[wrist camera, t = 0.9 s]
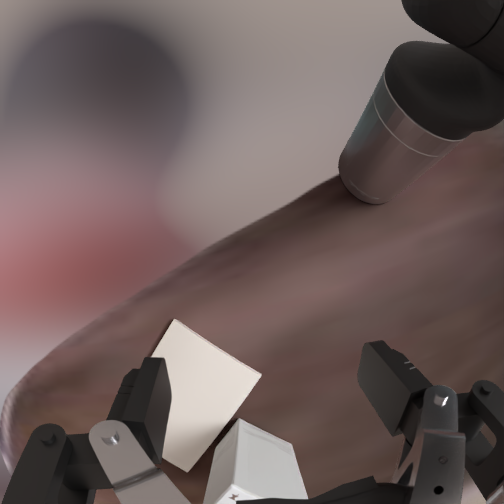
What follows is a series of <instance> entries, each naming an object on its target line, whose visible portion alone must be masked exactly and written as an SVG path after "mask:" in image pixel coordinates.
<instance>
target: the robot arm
mask: <svg viewBox="0 0 504 504" xmlns="http://www.w3.org/2000/svg"><path fill="white" fill-rule="evenodd" d="M402 4H403V7H404V10H405V11H406V13H407V14H408V16H409V17H410V18H411V19H412V21H414V22H415V23H416V24H417V25H419V26H421V27H422V28H424V29H425V30H427V31H429V32H430V33H432V34H434V35H435V36H437V37H439V38H441V39H443V40H445V41H446V42H448V43H450V44H440V43H432V42H423V41H410V42H406V43H403V44H401V45H400V46H398V47H397V48H396V49H395V50H394V52H393V54H392V55H391V57H390V59H389V61H388V63H387V65H386V67H385V69H384V71H383V73H382V76H381V77H380V80H379V82H378V84H377V85H376V88H375V90H374V92H373V94H372V96H371V98H370V100H369V102H368V104H367V106H366V108H365V110H364V112H363V113H362V116H361V117H360V119H359V121H358V123H357V125H356V127H355V129H354V131H353V133H352V135H351V137H350V138H349V140H348V142H347V144H346V146H345V148H344V150H343V152H342V154H341V155H340V159H339V166H338V168H339V174H340V177H341V179H342V182H343V183H344V185H345V187H346V188H347V189H348V190H349V191H350V192H351V194H353V195H354V196H355V197H357V198H358V199H360V200H362V201H364V202H367V203H370V204H382V203H386V202H388V201H390V200H391V199H393V198H394V197H395V196H397V195H398V194H399V193H400V192H402V191H403V190H404V189H406V188H407V187H408V186H409V185H411V184H412V183H413V182H414V181H416V180H417V179H418V178H419V177H421V176H422V175H423V174H424V173H425V172H427V171H428V170H429V169H430V168H431V167H433V166H434V165H435V164H436V163H437V162H439V161H440V160H441V159H442V158H443V157H445V156H446V155H447V154H448V153H449V152H450V151H451V150H453V149H454V148H455V147H456V146H457V145H458V144H459V143H461V142H462V141H463V140H464V139H465V138H466V137H467V136H469V135H470V134H471V133H472V132H475V131H482V130H486V129H489V128H492V127H493V126H495V125H497V124H498V123H499V122H501V121H502V120H503V119H504V0H402ZM358 382H359V385H360V387H361V389H362V390H363V392H364V393H365V395H366V396H367V398H368V399H369V401H370V402H371V404H372V406H373V407H374V409H375V410H376V412H377V413H378V415H379V417H380V418H381V420H382V421H383V423H384V424H385V426H386V428H387V429H388V431H389V432H390V434H391V435H392V437H393V436H396V435H399V434H402V433H403V434H404V435H405V437H404V439H403V441H402V445H401V450H400V454H399V457H398V461H397V465H396V468H395V472H394V475H393V478H392V480H391V482H390V483H376V481H375V479H374V477H373V476H370V477H367V478H364V479H360V480H357V481H354V482H350V483H346V484H343V485H341V486H339V487H336V488H334V489H332V490H330V491H328V492H326V493H324V494H321V495H319V496H317V497H315V498H312V499H285V498H264V499H253V500H237V501H236V504H461V498H462V490H463V481H464V468H466V470H467V471H468V473H469V474H470V476H471V478H472V479H473V481H474V482H475V484H476V485H477V487H478V489H479V490H480V492H481V493H482V495H483V497H484V498H485V500H486V504H504V392H503V391H502V390H501V389H500V388H499V387H498V386H497V385H496V384H494V383H492V382H490V381H487V380H480V381H477V382H475V383H474V385H473V387H472V389H471V391H470V392H468V393H461V394H456V393H455V392H454V391H453V390H452V389H451V388H449V387H447V386H443V385H434V386H433V385H432V384H431V383H430V382H429V381H428V380H427V379H426V378H425V377H424V375H423V374H422V373H421V372H420V371H419V370H418V369H417V368H415V366H414V365H413V364H412V363H410V361H409V360H408V359H407V358H406V357H405V356H404V355H403V354H402V353H400V352H398V351H396V350H394V349H391V348H390V347H389V346H388V345H387V344H386V343H385V342H384V341H382V340H380V341H374V342H368V343H365V344H364V346H363V350H362V355H361V360H360V364H359V369H358ZM171 401H172V391H171V385H170V380H169V376H168V371H167V366H166V361H165V358H164V357H145V358H144V360H143V363H142V366H141V368H140V369H132V370H131V371H130V372H129V373H128V374H127V375H125V377H124V379H123V381H122V384H121V387H120V388H119V391H118V394H117V395H116V398H115V400H114V402H113V405H112V407H111V410H110V412H109V415H108V417H107V420H106V421H102V422H99V423H98V424H96V425H95V426H93V428H92V429H91V430H90V433H87V434H73V435H67V434H66V433H65V431H64V429H63V428H62V427H60V426H58V425H56V424H44V425H41V426H39V427H37V428H36V429H35V430H34V431H33V433H32V434H31V436H30V438H29V440H28V442H27V445H26V447H25V449H24V451H23V453H22V455H21V457H20V460H19V462H18V464H17V466H16V468H15V471H14V473H13V475H12V478H11V480H10V483H9V485H8V488H7V490H6V493H5V495H4V498H3V501H2V504H93V503H94V498H95V493H96V489H110V488H113V490H114V492H115V494H116V495H117V497H118V499H119V500H120V502H121V503H122V504H191V503H190V502H189V501H188V500H187V499H186V498H185V497H184V496H183V494H182V493H181V492H180V491H179V490H178V489H177V488H176V486H175V485H174V484H173V483H172V482H171V481H170V479H169V478H168V477H167V476H166V475H165V473H164V472H163V471H162V470H161V469H160V468H159V469H157V468H156V466H155V465H154V464H161V460H162V454H163V448H164V442H165V436H166V430H167V424H168V418H169V413H170V407H171ZM485 423H486V425H487V426H488V427H489V428H490V429H491V431H492V432H493V433H494V434H495V436H496V439H497V442H496V445H495V447H494V448H493V447H492V445H491V444H490V443H489V442H488V440H487V439H486V438H485V436H484V435H483V434H482V433H481V431H480V430H481V429H482V427H483V425H484V424H485Z"/></svg>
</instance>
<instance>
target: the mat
mask: <svg viewBox="0 0 504 504" xmlns="http://www.w3.org/2000/svg"><path fill="white" fill-rule="evenodd" d="M151 357H164V358H165V361H166V366H167V371H168V376H169V380H170V385H171V391H172V401H171V407H170V413H169V418H168V424H167V430H166V436H165V442H164V448H163V454H162V458H164V459H165V460H167V461H169V462H170V463H172V464H174V465H175V466H177V467H179V468H180V469H182V470H184V471H186V472H187V473H188V471H189V470H190V469H191V468H192V467H193V465H194V464H195V463H196V462H197V461H198V459H199V458H200V457H201V456H202V454H203V453H204V452H205V451H206V450H207V448H208V447H209V446H210V445H211V443H212V442H213V441H214V439H215V438H216V437H217V436H218V434H219V433H220V432H221V430H222V429H223V428H224V427H225V425H226V424H227V423H228V421H229V420H230V419H231V417H232V416H233V415H234V413H235V412H236V411H237V409H238V408H239V407H240V405H241V404H242V402H243V401H244V400H245V398H246V397H247V396H248V394H249V393H250V391H251V390H252V388H253V387H254V386H255V384H256V383H257V381H258V380H259V379H260V377H261V374H260V373H259V372H257V371H255V370H254V369H252V368H250V367H249V366H247V365H245V364H244V363H242V362H240V361H239V360H237V359H235V358H234V357H232V356H231V355H229V354H227V353H226V352H224V351H223V350H221V349H220V348H218V347H216V346H215V345H213V344H212V343H210V342H209V341H207V340H206V339H204V338H203V337H201V336H200V335H198V334H197V333H195V332H194V331H192V330H191V329H189V328H188V327H187V326H185V325H184V324H182V323H181V322H179V321H178V320H176V319H174V320H173V322H172V323H171V325H170V326H169V328H168V330H167V331H166V333H165V335H164V336H163V338H162V340H161V341H160V343H159V345H158V346H157V348H156V350H155V351H154V353H153V355H152V356H151Z"/></svg>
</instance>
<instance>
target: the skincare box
mask: <svg viewBox="0 0 504 504" xmlns="http://www.w3.org/2000/svg"><path fill="white" fill-rule="evenodd" d="M264 498H285V499H308V497H307V494H306V490H305V487H304V484H303V480H302V477H301V474H300V471H299V467H298V464H297V461H296V458H295V454H294V451H293V447H292V444H290V443H288V442H286V441H284V440H282V439H280V438H278V437H276V436H273V435H271V434H269V433H267V432H265V431H263V430H261V429H259V428H257V427H255V426H253V425H251V424H249V423H247V422H245V421H243V420H242V419H240V418H239V419H238V420H237V421H236V422H235V424H234V425H233V426H232V428H231V429H230V430H229V431H228V433H227V434H226V435H225V437H224V438H223V439H222V440H221V442H220V443H219V444H218V445H217V447H216V448H215V453H214V457H213V462H212V466H211V471H210V475H209V480H208V484H207V489H206V493H205V498H204V502H203V504H236V501H237V500H253V499H264Z"/></svg>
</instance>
